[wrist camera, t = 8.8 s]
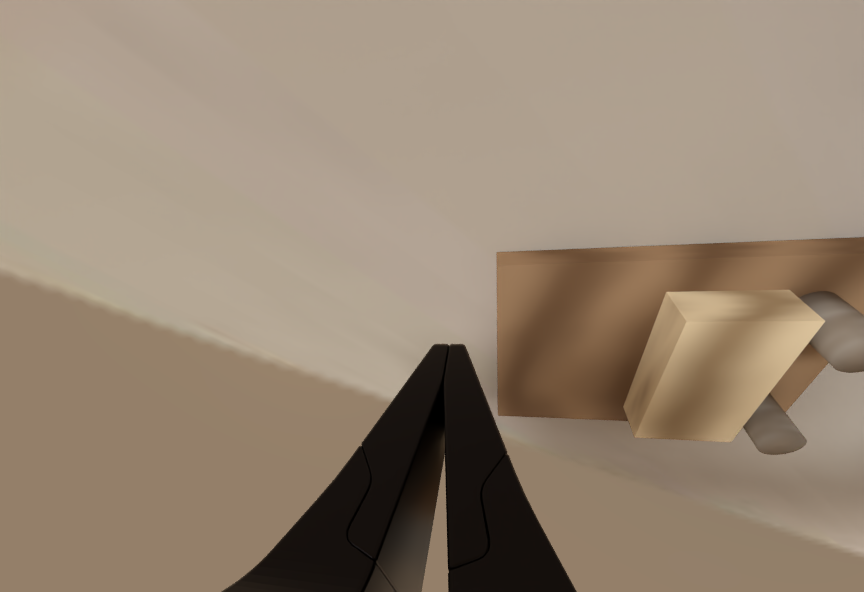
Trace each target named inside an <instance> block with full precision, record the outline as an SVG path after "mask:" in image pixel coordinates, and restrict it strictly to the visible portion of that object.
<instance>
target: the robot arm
mask: <svg viewBox="0 0 864 592" xmlns="http://www.w3.org/2000/svg"><path fill="white" fill-rule="evenodd" d="M444 455H445V467H446V468H445V471H446V509H447V547H448V570H449V573H448V588H449V592H576V590H575V588H574V586H573V584H572V582H571V581H570V579H569V577H568V575H567V573H566V571H565V570H564V568H563V566H562V564H561V562H560V560H559V559H558V557H557V555H556V553H555V551H554V549H553V547H552V546H551V544H550V542H549V540H548V538H547V536H546V534H545V533H544V531H543V529H542V527H541V525H540V523H539V521H538V520H537V518H536V515H535V514H534V512H533V510H532V508H531V505H530V503H529V501H528V500H527V497H526V496H525V493H524V491H523V489H522V487H521V484H520V482H519V480H518V477H517V475H516V473H515V470H514V468H513V465H512V463H511V460H510V458H509V456H508V455H507V451H506V448H505V445H504V443H503V440H502V438H501V435H500V433H499V430H498V428H497V425H496V423H495V420H494V417H493V415H492V412H491V410H490V407H489V405H488V402H487V400H486V397H485V395H484V392H483V390H482V387H481V385H480V382H479V379H478V377H477V374H476V372H475V369H474V367H473V364H472V362H471V359H470V357H469V354H468V352H467V349H466V347H465V345H464V344H451V345H450V346H449V345H448V344H435V345H433V346H432V348H431V349H430V350H429V352H428V353H427V354H426V356H425V357H424V358H423V360H422V361H421V363H420V364H419V365H418V367H417V368H416V369H415V371H414V372H413V374H412V375H411V376H410V378H409V379H408V380H407V382H406V383H405V384H404V386H403V387H402V389H401V390H400V391H399V393H398V394H397V395H396V397H395V398H394V400H393V401H392V402H391V404H390V405H389V407H388V408H387V409H386V410H385V412H384V413H383V415H382V416H381V418H380V419H379V420H378V421H377V423H376V424H375V426H374V427H373V428H372V430H371V431H370V432H369V434H368V435H367V437H366V438H365V439H364V441H363V442H362V446H359V447H358V449H357V450H356V451H355V453H354V454H353V456H352V457H351V458H350V460H349V461H348V462H347V464H346V465H345V466H344V467H343V469H342V470H341V471H340V473H339V474H338V475H337V477H336V478H335V479H334V480H333V481H332V483H331V484H330V485H329V486H328V487H327V488H326V490H325V491H324V492H323V493H322V494H321V496H320V497H319V498H318V499H317V500H316V501H315V502H314V503H313V504H312V506H311V507H310V508H309V509H308V510H307V511H306V512H305V514H304V515H303V516H302V517H301V518H300V519H299V520H298V521H297V522H296V524H295V525H294V526H293V527H292V528H291V529H290V530H289V532H288V533H287V534H286V535H285V536H284V537H283V538H282V539H281V540H280V542H279V543H278V544H277V545H276V546H275V547H274V548H273V549H272V550H271V551H270V553H269V554H268V555H267V556H266V557H265V558H264V559H263V560H262V561H261V562H260V563H259V564H258V565H257V566H255V567H254V568H253V569H252V570H251V571H250V572H248V573H247V574H246V575H245V576H243V577H242V578H241V579H240V580H238V581H237V582H235V583H234V584H232V585H231V586H229V587H228V588H226V589H225V590H223V591H222V592H421V591H422V584H423V579H424V573H425V567H426V561H427V555H428V550H429V544H430V538H431V532H432V526H433V520H434V514H435V508H436V502H437V496H438V490H439V485H440V478H441V472H442V467H443V461H444Z"/></svg>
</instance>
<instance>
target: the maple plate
mask: <svg viewBox="0 0 864 592" xmlns="http://www.w3.org/2000/svg"><path fill="white" fill-rule="evenodd" d="M824 322H825V320H824V319H823V318H821V317H820V316H819V315H818V314H817V313H816V312H815V311H813V310H812V309H811V308H810V307H809V306H808V305H806V304H805V303H804V302H803V301H802V300H801V299H799V298H798V297H797V296H796V295H795V294H794V293H793V292H791V291H790V290H749V291H691V292H666V294H665V297H664V299H663V302H662V305H661V307H660V310H659V313H658V315H657V318H656V321H655V323H654V326H653V329H652V331H651V334H650V337H649V339H648V342H647V345H646V347H645V350H644V353H643V355H642V358H641V361H640V363H639V366H638V369H637V371H636V374H635V377H634V379H633V382H632V385H631V387H630V390H629V393H628V395H627V398H626V401H625V403H624V406H623V407H624V410H625V413H626V416H627V418H628V421H629V424H630V427H631V429H632V432H633V435H634V437H637V438H657V439H677V440H697V441H717V442H731V441H732V440H733V439H734V438H735V436H736V435H737V434H738V432H739V431H740V430H741V429H742V427H743V426H744V425H745V423H746V422H747V421H748V420H749V418H750V417H751V416H752V415H753V413H754V412H755V411H756V409H757V408H758V407H759V406H760V404H761V403H762V402H763V400H764V399H765V398H766V397H767V395H768V394H769V393H770V392H771V390H772V389H773V388H774V386H775V385H776V384H777V383H778V381H779V380H780V379H781V377H782V376H783V375H784V374H785V372H786V371H787V370H788V369H789V367H790V366H791V365H792V363H793V362H794V361H795V360H796V358H797V357H798V356H799V354H800V353H801V352H802V351H803V349H804V348H805V347H806V346H807V344H808V343H809V342H810V340H811V339H812V338H813V337H814V335H815V334H816V333H817V331H818V330H819V329H820V328H821V326H822V325H823V324H824Z"/></svg>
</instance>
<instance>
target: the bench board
mask: <svg viewBox="0 0 864 592" xmlns="http://www.w3.org/2000/svg"><path fill="white" fill-rule="evenodd" d="M749 290H790V291H791V292H793V293H794V294H795V295H796V296H797V297H798V298H799V299H801V300H802V301H803V302H804V303H805V304H806V305H808V306H809V307H810V308H811V309H812V310H813V311H815V312H816V313H817V314H818V315H819V316H820V317H821V318H823V319H824V320H825V322H824V324H823V325H822V326H821V328H820V329H819V330H818V331H817V333H816V334H815V335H814V337H813V338H812V339H811V340H810V342H809V343H808V344H807V346H806V347H805V348H804V349H803V351H802V352H801V353H800V354H799V356H798V357H797V358H796V360H795V361H794V362H793V363H792V365H791V366H790V367H789V369H788V370H787V371H786V372H785V374H784V375H783V376H782V377H781V379H780V380H779V381H778V383H777V384H776V385H775V386H774V388H773V389H772V390H771V392H770V393H769V394H768V395H767V397H766V398H765V399H764V400H763V402H762V403H761V404H760V406H759V407H758V408H757V409H756V411H755V412H754V413H753V415H752V416H751V417H750V418H749V420H748V421H747V422H746V423H745V425H744V426H743V427H744V429H745V430H746V432H747V434H748V435H749V437H750V438H751V440H752V441H753V443H754V444H755V446H756V448H757V449H758V450H759V451H760V452H762V453H765V454H771V455H778V454H786V453H790V452H794V451H796V450H799V449H800V448H802V447H803V446H804V445H805V444H806V442H807V441H806V439H805V437H804V436H803V435H802V433H801V432H800V431H799V430H798V428H797V427H796V426H795V424H794V423H793V422H792V421H791V419H790V418H789V417H788V415H787V414H786V413H785V412H786V411H787V410H788V409H789V407H790V406H791V405H792V404H793V403H794V402H795V401H796V399H797V398H798V397H799V396H800V395H801V394H802V392H803V391H804V390H805V389H806V388H807V387H808V386H809V384H810V383H811V382H812V381H813V380H814V379H815V378H816V376H817V375H818V374H819V373H820V372H821V371H822V369H823V368H824V367H825V366H826V365H827V364H828V363H830V364H831V365H832V366H833V367H834V368H835V369H836V370H838V371H841V372H849V373H853V372H862V371H864V237H860V238H835V239H811V240H787V241H762V242H738V243H713V244H689V245H664V246H640V247H616V248H591V249H567V250H542V251H518V252H497V364H498V416H522V417H547V418H572V419H597V420H622V421H628V418H627V416H626V413H625V410H624V407H623V406H624V403H625V401H626V398H627V395H628V393H629V390H630V387H631V385H632V382H633V379H634V377H635V374H636V371H637V369H638V366H639V363H640V361H641V358H642V355H643V353H644V350H645V347H646V345H647V342H648V339H649V337H650V334H651V331H652V329H653V326H654V323H655V321H656V318H657V315H658V313H659V310H660V307H661V305H662V302H663V299H664V297H665V294H666V292H691V291H749Z"/></svg>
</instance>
